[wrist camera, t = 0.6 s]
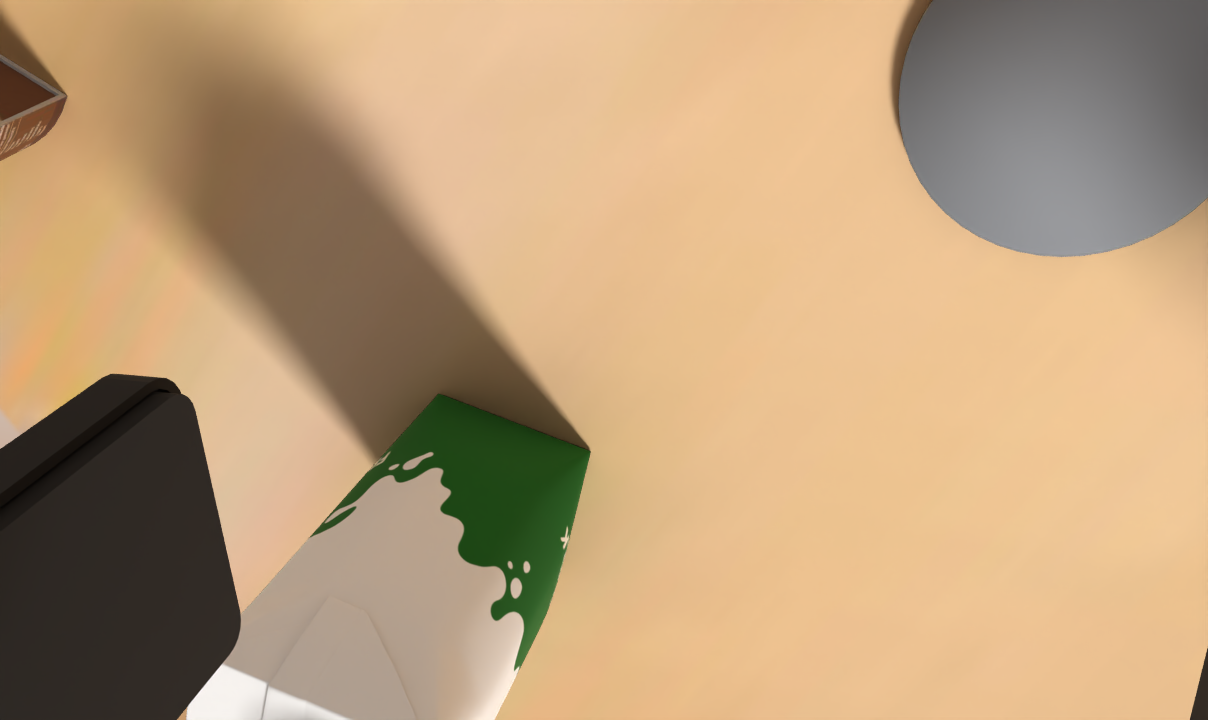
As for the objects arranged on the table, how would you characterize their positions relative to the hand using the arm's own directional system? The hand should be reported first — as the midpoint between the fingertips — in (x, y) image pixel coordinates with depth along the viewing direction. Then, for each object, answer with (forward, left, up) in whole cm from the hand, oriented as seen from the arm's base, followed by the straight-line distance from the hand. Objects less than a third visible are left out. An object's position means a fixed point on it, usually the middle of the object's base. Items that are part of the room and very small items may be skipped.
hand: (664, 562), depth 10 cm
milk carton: (+20, +14, -32) cm, 40 cm away
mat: (-6, +4, -32) cm, 32 cm away
